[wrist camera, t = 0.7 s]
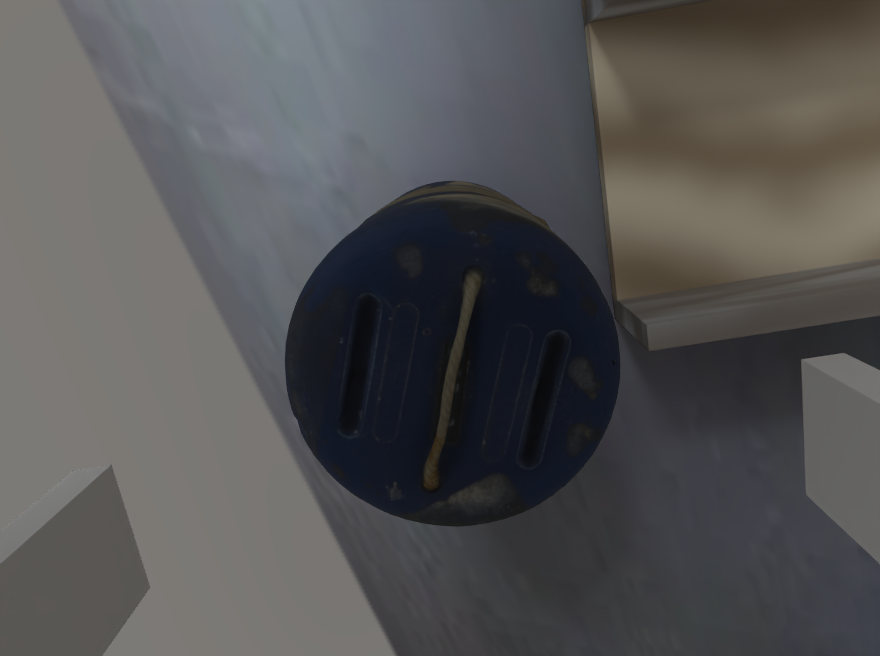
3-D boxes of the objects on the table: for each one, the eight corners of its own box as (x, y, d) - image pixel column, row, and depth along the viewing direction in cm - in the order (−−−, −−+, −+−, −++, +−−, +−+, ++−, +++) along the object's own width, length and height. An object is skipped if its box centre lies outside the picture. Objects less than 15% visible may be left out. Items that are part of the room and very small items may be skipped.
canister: (578, 229, 33) (722, 309, 16) (494, 390, 35) (539, 617, 18) (405, 146, 32) (352, 132, 15) (330, 316, 34) (208, 480, 17)
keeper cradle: (581, -1, 30) (612, -38, 24) (890, -58, 30) (999, -111, 24) (614, 318, 34) (648, 351, 28) (890, 274, 33) (983, 299, 27)
